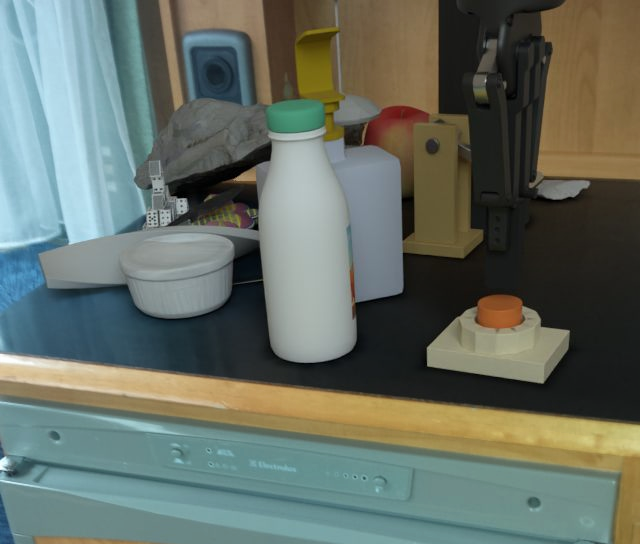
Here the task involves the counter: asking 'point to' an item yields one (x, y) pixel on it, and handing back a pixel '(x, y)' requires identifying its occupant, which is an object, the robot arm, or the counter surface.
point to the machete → (208, 206)
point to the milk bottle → (305, 240)
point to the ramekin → (179, 274)
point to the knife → (248, 280)
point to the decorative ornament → (229, 216)
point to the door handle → (103, 255)
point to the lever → (465, 152)
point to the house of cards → (163, 201)
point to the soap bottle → (355, 178)
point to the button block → (499, 348)
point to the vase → (459, 76)
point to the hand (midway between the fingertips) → (503, 284)
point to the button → (499, 311)
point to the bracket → (442, 190)
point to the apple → (397, 139)
